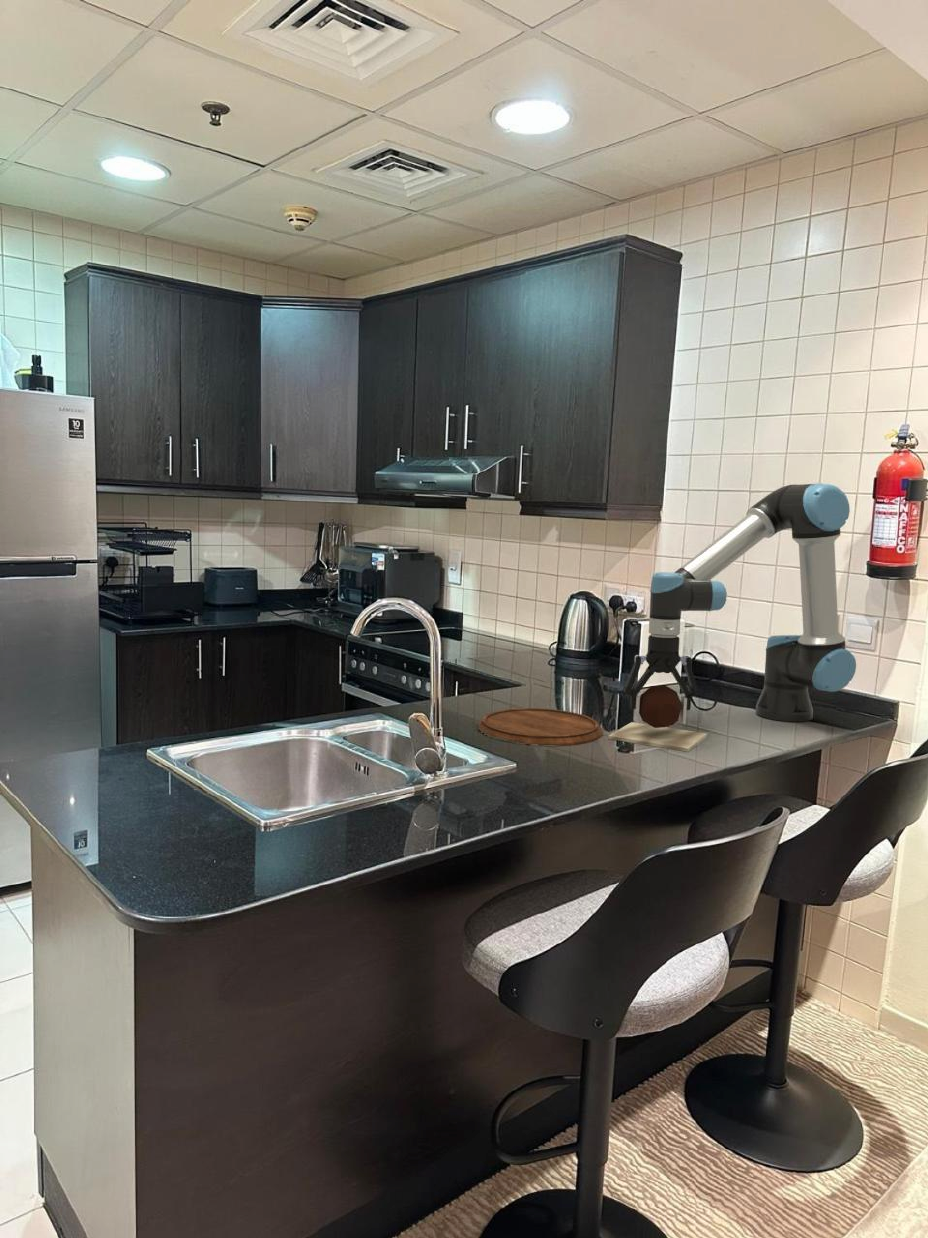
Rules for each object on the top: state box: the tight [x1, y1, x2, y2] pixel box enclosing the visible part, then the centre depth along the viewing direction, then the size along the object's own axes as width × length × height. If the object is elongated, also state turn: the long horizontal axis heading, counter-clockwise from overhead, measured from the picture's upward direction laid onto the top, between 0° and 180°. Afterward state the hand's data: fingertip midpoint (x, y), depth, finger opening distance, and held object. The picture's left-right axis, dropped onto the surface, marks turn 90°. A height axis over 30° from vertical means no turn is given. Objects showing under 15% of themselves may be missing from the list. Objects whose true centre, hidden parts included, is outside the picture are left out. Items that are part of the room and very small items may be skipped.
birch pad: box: [607, 721, 708, 752], centre depth 217 cm, size 20×17×1 cm
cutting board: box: [477, 707, 604, 747], centre depth 223 cm, size 32×32×2 cm
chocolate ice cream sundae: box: [639, 684, 682, 728], centre depth 215 cm, size 11×11×15 cm
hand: (659, 722), depth 217 cm, fingers closed on chocolate ice cream sundae, 11 cm apart
